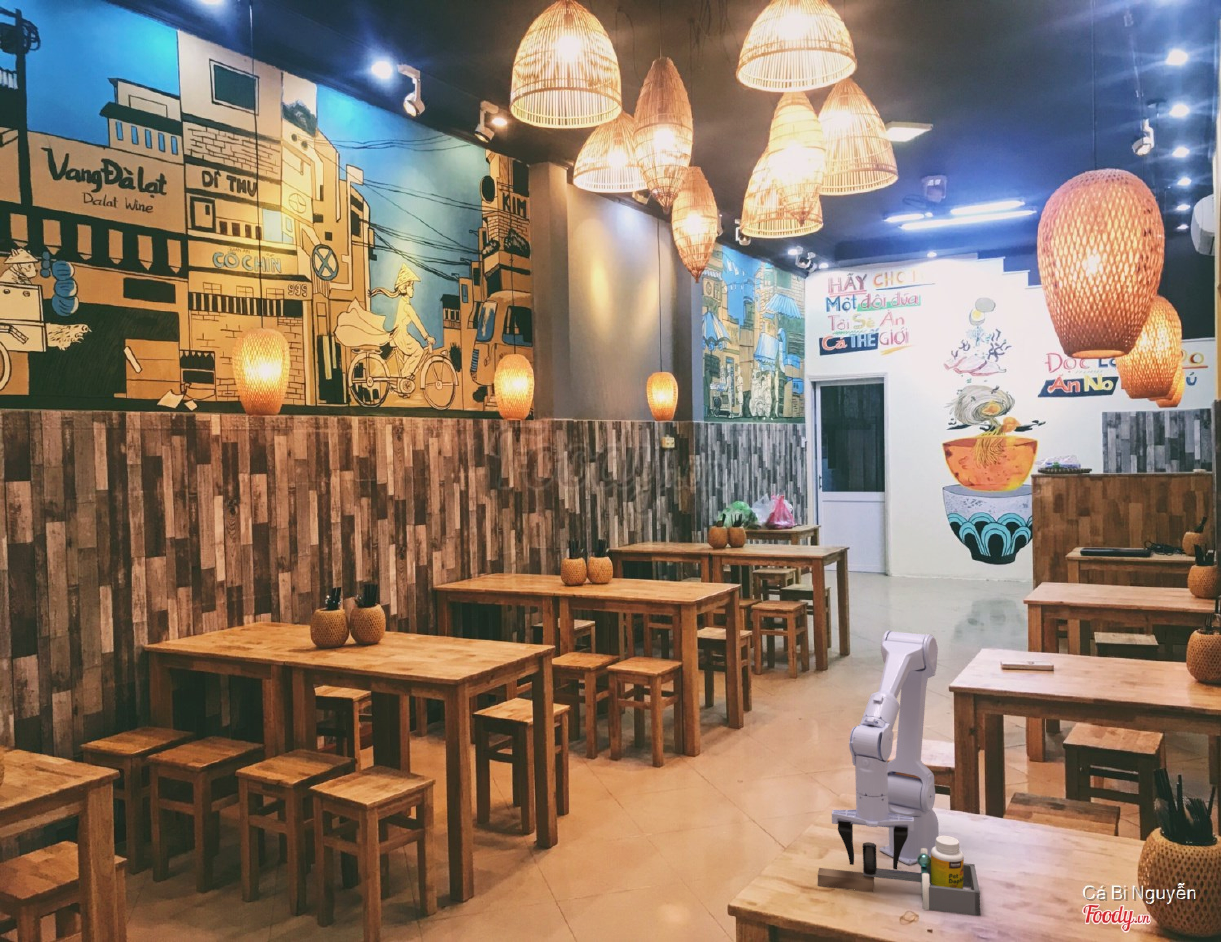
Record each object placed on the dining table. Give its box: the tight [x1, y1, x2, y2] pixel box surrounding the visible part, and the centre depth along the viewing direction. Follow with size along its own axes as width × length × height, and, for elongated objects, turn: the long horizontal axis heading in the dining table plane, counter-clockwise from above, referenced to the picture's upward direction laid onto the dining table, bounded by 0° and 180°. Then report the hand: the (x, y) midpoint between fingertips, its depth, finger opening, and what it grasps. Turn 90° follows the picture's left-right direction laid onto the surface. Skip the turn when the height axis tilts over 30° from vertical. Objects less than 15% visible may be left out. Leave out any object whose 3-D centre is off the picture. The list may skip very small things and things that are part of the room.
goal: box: [921, 848, 981, 917], centre depth 164 cm, size 9×12×6 cm
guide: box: [817, 867, 875, 893], centre depth 169 cm, size 10×3×2 cm, turn 72°
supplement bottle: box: [930, 835, 965, 889], centre depth 164 cm, size 6×6×10 cm
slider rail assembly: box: [862, 841, 931, 901], centre depth 166 cm, size 12×7×8 cm, turn 72°
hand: (873, 864), depth 168 cm, fingers open, 7 cm apart
